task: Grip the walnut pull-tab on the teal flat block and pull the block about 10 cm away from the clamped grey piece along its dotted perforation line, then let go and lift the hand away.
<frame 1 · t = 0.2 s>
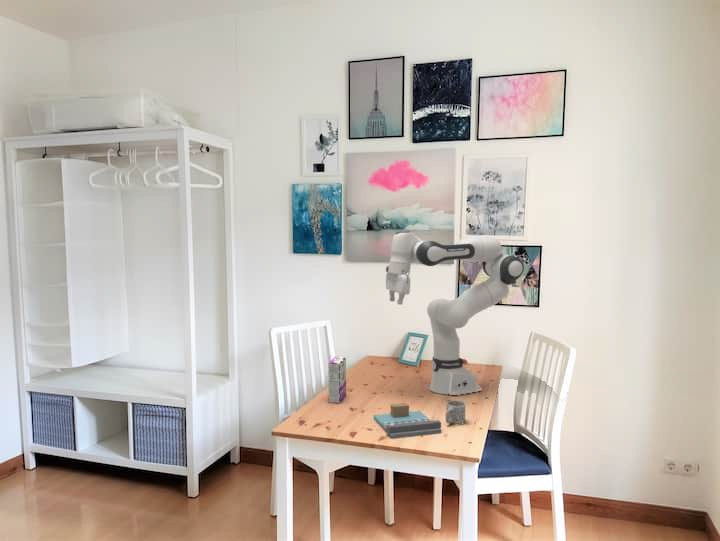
hand: (395, 302, 222), 39 cm above the table, tool pointing down, fingers open, 8 cm apart
grey piece: (411, 430, 185), on the table
candy bar box: (337, 399, 218), on the table
mug: (453, 423, 192), on the table
teal flat block: (401, 413, 194), point 3 cm above the table, slide at 0.0 cm
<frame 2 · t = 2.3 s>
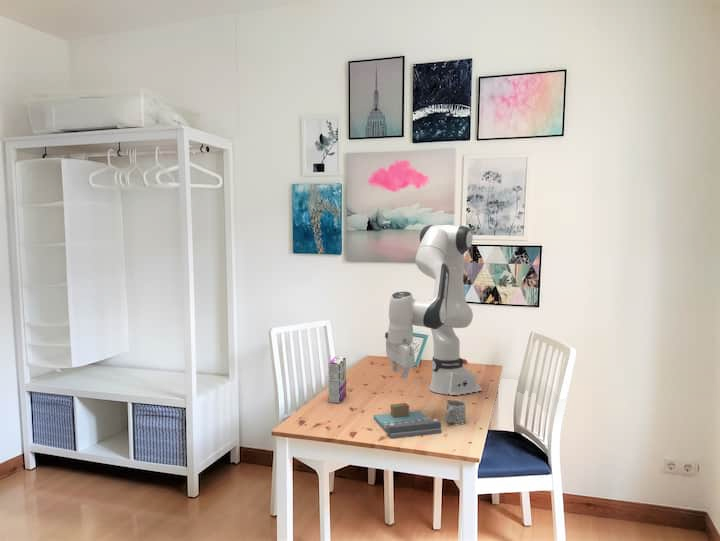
hand: (399, 374, 194), 17 cm above the table, tool pointing down, fingers open, 8 cm apart
nothing on the table moved.
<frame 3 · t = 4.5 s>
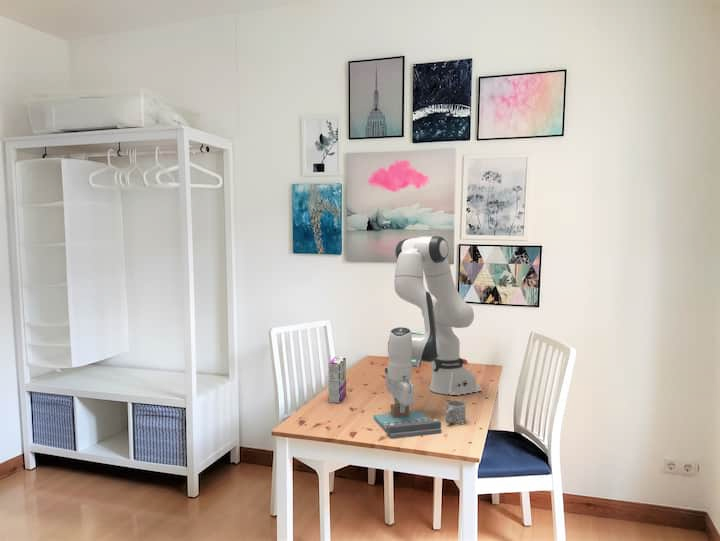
hand: (399, 410, 195), 3 cm above the table, tool pointing down, fingers closed on teal flat block, 3 cm apart
teal flat block: (401, 413, 194), point 3 cm above the table, slide at 0.0 cm, touching gripper
everything else where it was.
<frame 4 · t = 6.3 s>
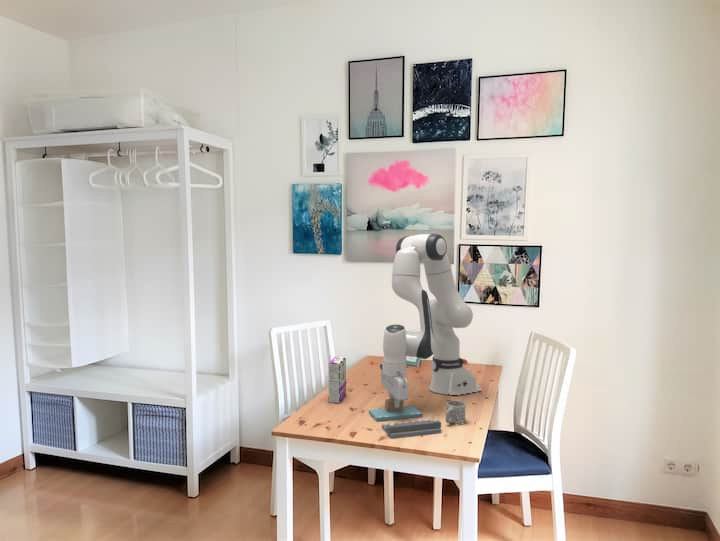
hand: (394, 405, 201), 3 cm above the table, tool pointing down, fingers closed on teal flat block, 3 cm apart
teal flat block: (395, 408, 199), point 3 cm above the table, slide at 6.0 cm, touching gripper
everything else where it was.
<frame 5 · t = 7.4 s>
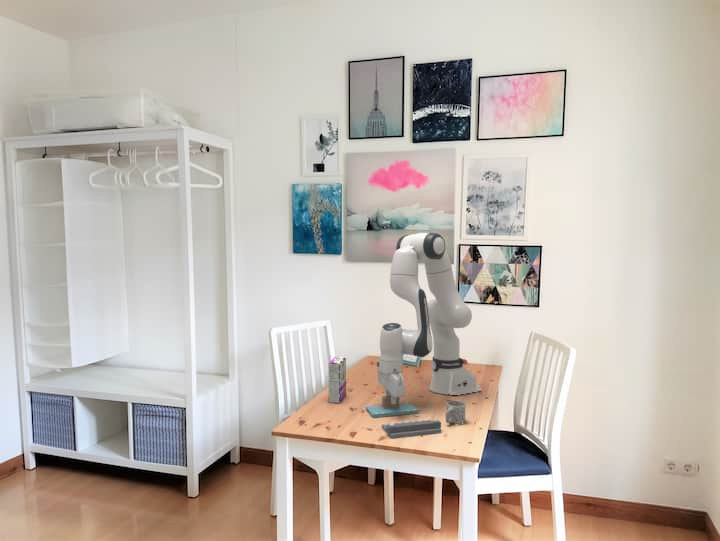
hand: (390, 401, 205), 3 cm above the table, tool pointing down, fingers closed on teal flat block, 3 cm apart
teal flat block: (392, 404, 203), point 3 cm above the table, slide at 9.9 cm, touching gripper
everything else where it was.
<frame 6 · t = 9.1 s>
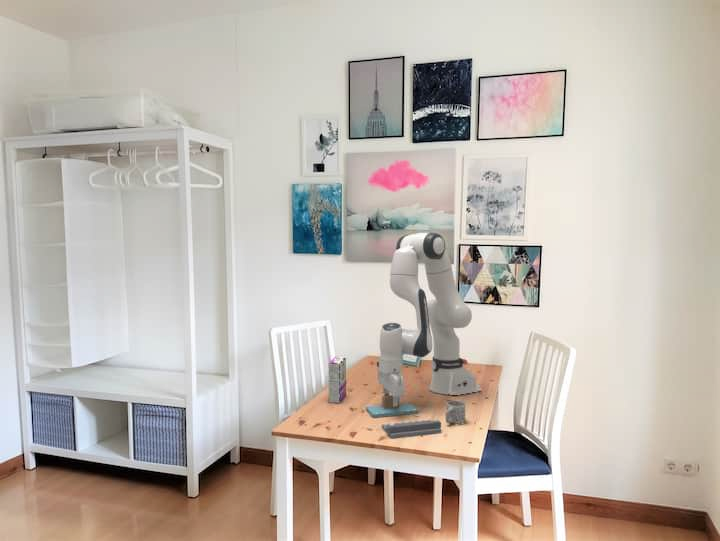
hand: (390, 401, 205), 3 cm above the table, tool pointing down, fingers open, 8 cm apart
teal flat block: (391, 404, 203), point 3 cm above the table, slide at 9.9 cm
everything else where it was.
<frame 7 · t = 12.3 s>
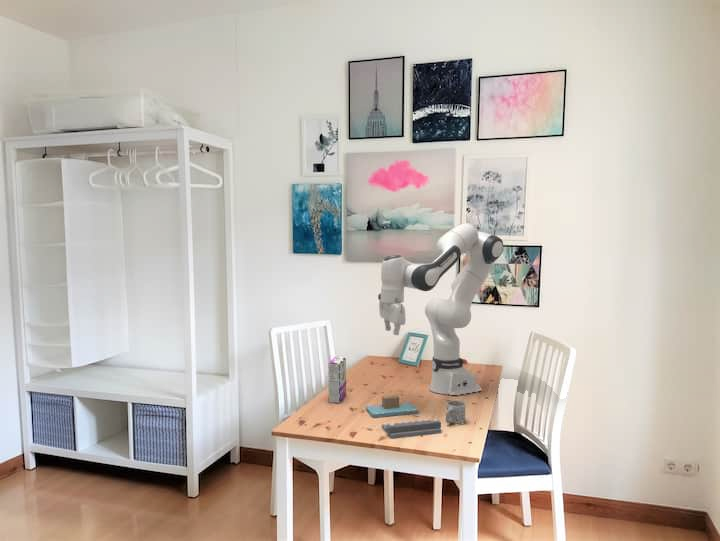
hand: (392, 332, 208), 29 cm above the table, tool pointing down, fingers open, 8 cm apart
nothing on the table moved.
at the end: teal flat block slide at 9.9 cm; the gripper is holding nothing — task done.
